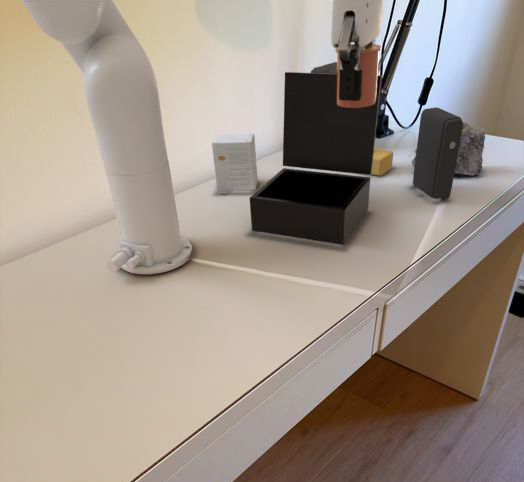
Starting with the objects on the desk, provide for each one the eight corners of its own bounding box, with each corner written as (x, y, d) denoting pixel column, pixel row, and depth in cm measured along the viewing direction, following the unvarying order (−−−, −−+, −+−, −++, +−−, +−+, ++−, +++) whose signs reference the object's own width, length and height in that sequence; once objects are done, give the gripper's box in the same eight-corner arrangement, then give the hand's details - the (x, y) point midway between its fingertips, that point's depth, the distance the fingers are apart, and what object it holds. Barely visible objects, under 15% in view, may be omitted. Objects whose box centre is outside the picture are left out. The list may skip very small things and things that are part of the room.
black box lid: (380, 75, 85) (387, 74, 88) (284, 72, 91) (294, 70, 94) (370, 175, 93) (376, 170, 96) (282, 165, 99) (291, 161, 102)
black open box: (343, 249, 87) (344, 210, 83) (252, 235, 93) (249, 197, 89) (367, 213, 98) (370, 177, 93) (284, 202, 104) (283, 167, 99)
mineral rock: (408, 174, 112) (414, 124, 106) (430, 159, 118) (436, 111, 112) (467, 185, 105) (477, 133, 99) (487, 169, 112) (497, 119, 106)
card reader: (453, 200, 100) (468, 117, 91) (434, 204, 99) (447, 120, 90) (428, 184, 107) (439, 105, 98) (410, 187, 106) (420, 108, 97)
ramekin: (328, 107, 80) (329, 51, 76) (341, 96, 85) (343, 42, 80) (371, 109, 78) (374, 51, 73) (382, 98, 82) (386, 42, 78)
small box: (258, 183, 112) (255, 132, 106) (255, 194, 108) (252, 141, 101) (221, 184, 113) (216, 133, 107) (217, 194, 109) (211, 142, 102)
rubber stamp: (392, 168, 115) (398, 109, 108) (380, 176, 112) (385, 117, 104) (352, 161, 120) (355, 104, 113) (339, 168, 117) (341, 111, 109)
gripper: (353, -55, 77) (348, 80, 88) (313, -48, 65) (314, 108, 76) (405, -59, 74) (393, 81, 85) (373, -52, 62) (365, 110, 73)
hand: (356, 93), depth 80 cm, fingers closed on ramekin, 6 cm apart
